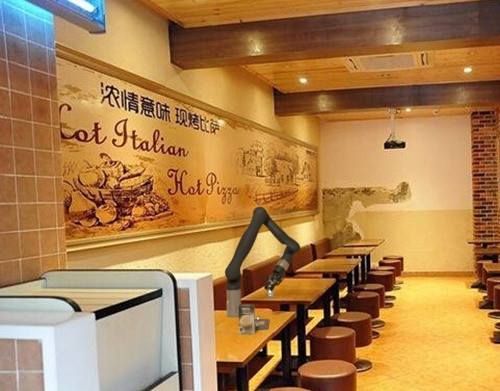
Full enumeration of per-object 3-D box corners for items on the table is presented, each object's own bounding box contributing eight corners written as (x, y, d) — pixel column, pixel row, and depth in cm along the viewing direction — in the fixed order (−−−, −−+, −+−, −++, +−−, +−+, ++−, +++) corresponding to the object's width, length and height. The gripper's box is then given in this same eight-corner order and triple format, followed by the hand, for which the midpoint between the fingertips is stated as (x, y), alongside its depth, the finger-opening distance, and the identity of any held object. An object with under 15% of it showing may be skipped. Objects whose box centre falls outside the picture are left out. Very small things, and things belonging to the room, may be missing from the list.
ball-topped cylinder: (267, 297, 365) (266, 284, 365) (266, 296, 370) (266, 283, 370) (274, 297, 365) (273, 284, 366) (273, 296, 370) (273, 283, 370)
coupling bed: (245, 330, 340) (245, 324, 340) (248, 320, 364) (248, 315, 364) (267, 329, 340) (267, 323, 340) (269, 320, 363) (269, 315, 363)
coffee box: (238, 334, 331) (237, 306, 331) (240, 331, 337) (238, 304, 337) (254, 334, 330) (253, 305, 330) (255, 331, 336) (254, 303, 336)
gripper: (270, 263, 378) (257, 284, 370) (285, 265, 367) (272, 286, 359) (276, 270, 381) (263, 291, 373) (292, 272, 371) (279, 294, 363)
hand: (268, 289), depth 366 cm, fingers closed on ball-topped cylinder, 4 cm apart
